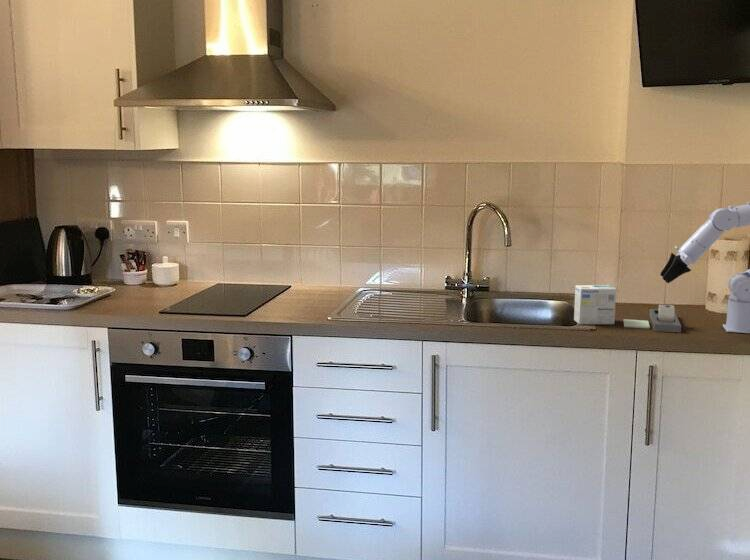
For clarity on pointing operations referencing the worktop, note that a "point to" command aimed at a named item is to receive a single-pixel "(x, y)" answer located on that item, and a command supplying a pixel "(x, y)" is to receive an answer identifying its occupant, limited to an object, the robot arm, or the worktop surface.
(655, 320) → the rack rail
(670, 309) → the white block
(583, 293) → the light bulb box
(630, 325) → the mat
